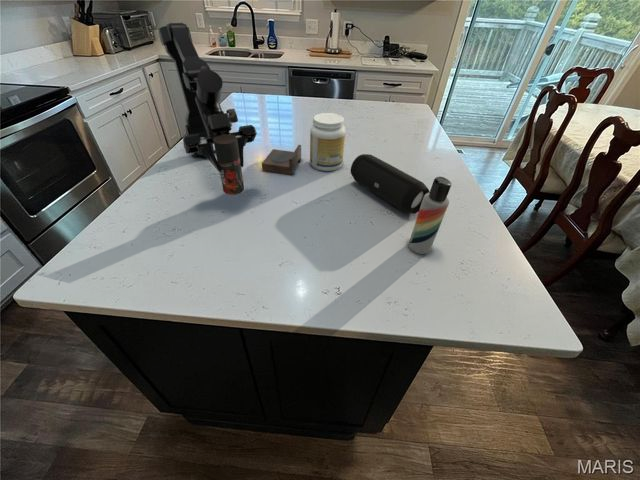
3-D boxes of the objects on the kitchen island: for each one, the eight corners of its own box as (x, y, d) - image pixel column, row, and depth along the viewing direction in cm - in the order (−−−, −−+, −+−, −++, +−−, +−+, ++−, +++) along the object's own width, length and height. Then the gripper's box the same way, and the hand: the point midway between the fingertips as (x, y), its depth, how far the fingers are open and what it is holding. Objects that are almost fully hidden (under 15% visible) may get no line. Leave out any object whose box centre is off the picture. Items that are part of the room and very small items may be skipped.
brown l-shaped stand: (262, 171, 104) (260, 155, 100) (273, 156, 113) (272, 141, 109) (292, 175, 102) (291, 159, 98) (301, 160, 111) (301, 145, 107)
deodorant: (247, 186, 86) (241, 136, 76) (237, 196, 82) (229, 145, 72) (230, 182, 88) (221, 132, 78) (218, 192, 83) (208, 141, 73)
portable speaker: (347, 183, 100) (350, 155, 93) (368, 175, 105) (372, 148, 98) (404, 221, 85) (413, 191, 79) (426, 210, 90) (435, 181, 83)
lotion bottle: (405, 240, 79) (426, 173, 66) (425, 239, 79) (450, 173, 66) (412, 255, 75) (435, 186, 61) (433, 254, 75) (461, 186, 62)
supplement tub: (349, 164, 110) (354, 118, 99) (327, 176, 103) (330, 127, 92) (325, 154, 116) (327, 109, 105) (302, 163, 109) (302, 117, 98)
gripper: (173, 102, 68) (196, 166, 68) (250, 93, 75) (270, 151, 76) (175, 124, 78) (195, 180, 78) (243, 114, 85) (261, 165, 86)
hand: (231, 169), depth 79 cm, fingers closed on deodorant, 6 cm apart
